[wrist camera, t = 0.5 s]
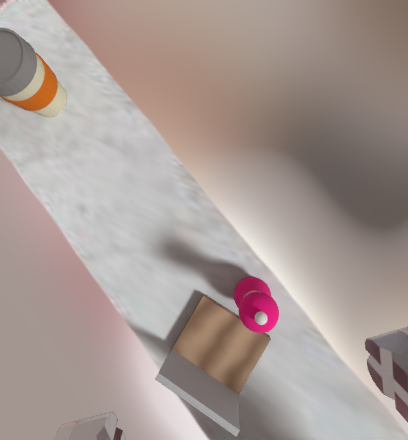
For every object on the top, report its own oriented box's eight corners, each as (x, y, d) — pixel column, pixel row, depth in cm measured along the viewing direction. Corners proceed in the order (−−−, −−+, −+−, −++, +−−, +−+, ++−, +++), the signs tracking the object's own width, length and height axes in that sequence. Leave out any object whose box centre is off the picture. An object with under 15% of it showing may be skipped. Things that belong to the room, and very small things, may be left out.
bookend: (269, 335, 54) (280, 362, 42) (235, 393, 54) (236, 437, 42) (204, 294, 56) (197, 308, 44) (171, 349, 56) (155, 379, 44)
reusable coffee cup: (36, 132, 63) (-24, 99, 49) (21, 88, 65) (-41, 43, 50) (81, 111, 63) (34, 71, 48) (65, 67, 64) (15, 15, 49)
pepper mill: (228, 300, 55) (227, 333, 35) (241, 269, 56) (246, 284, 36) (260, 314, 54) (277, 356, 35) (272, 282, 55) (296, 306, 35)
